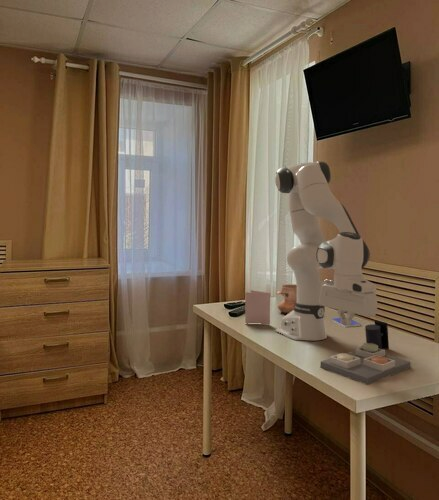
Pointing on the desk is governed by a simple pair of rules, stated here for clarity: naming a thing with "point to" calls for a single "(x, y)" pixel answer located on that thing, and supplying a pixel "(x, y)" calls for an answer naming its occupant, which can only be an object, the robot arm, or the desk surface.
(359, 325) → the hard drive
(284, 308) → the ceramic jug
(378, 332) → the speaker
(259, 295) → the greeting card
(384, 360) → the terracotta button
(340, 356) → the sand button
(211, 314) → the desk surface
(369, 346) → the sage button
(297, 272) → the robot arm
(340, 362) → the button console
